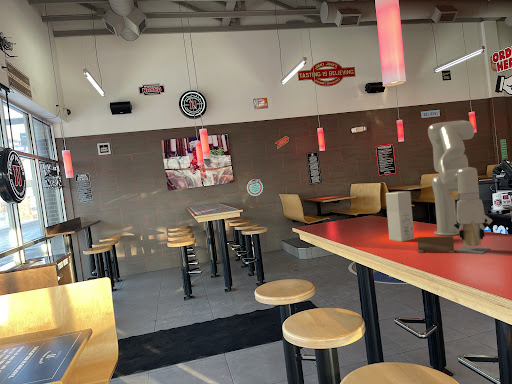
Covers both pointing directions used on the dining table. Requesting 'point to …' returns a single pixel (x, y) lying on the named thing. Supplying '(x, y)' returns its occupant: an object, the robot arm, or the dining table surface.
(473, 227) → the box
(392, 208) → the tall white carton
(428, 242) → the screen
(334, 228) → the dining table surface
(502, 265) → the dining table surface
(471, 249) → the mat
